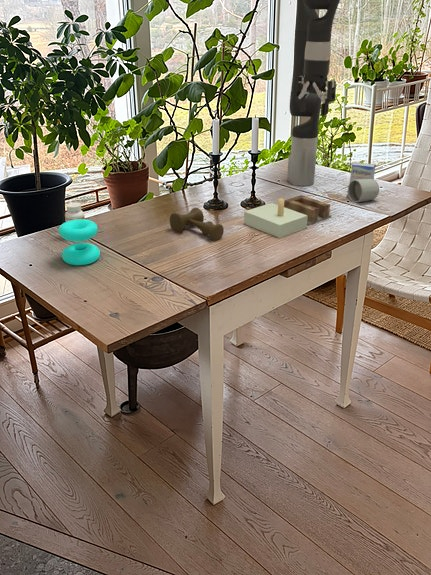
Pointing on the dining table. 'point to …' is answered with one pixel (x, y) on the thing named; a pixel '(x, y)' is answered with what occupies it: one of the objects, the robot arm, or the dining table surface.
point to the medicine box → (362, 171)
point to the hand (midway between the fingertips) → (313, 113)
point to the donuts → (79, 251)
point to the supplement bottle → (74, 212)
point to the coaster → (318, 220)
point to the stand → (275, 219)
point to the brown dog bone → (196, 223)
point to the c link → (308, 207)
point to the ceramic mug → (363, 190)
